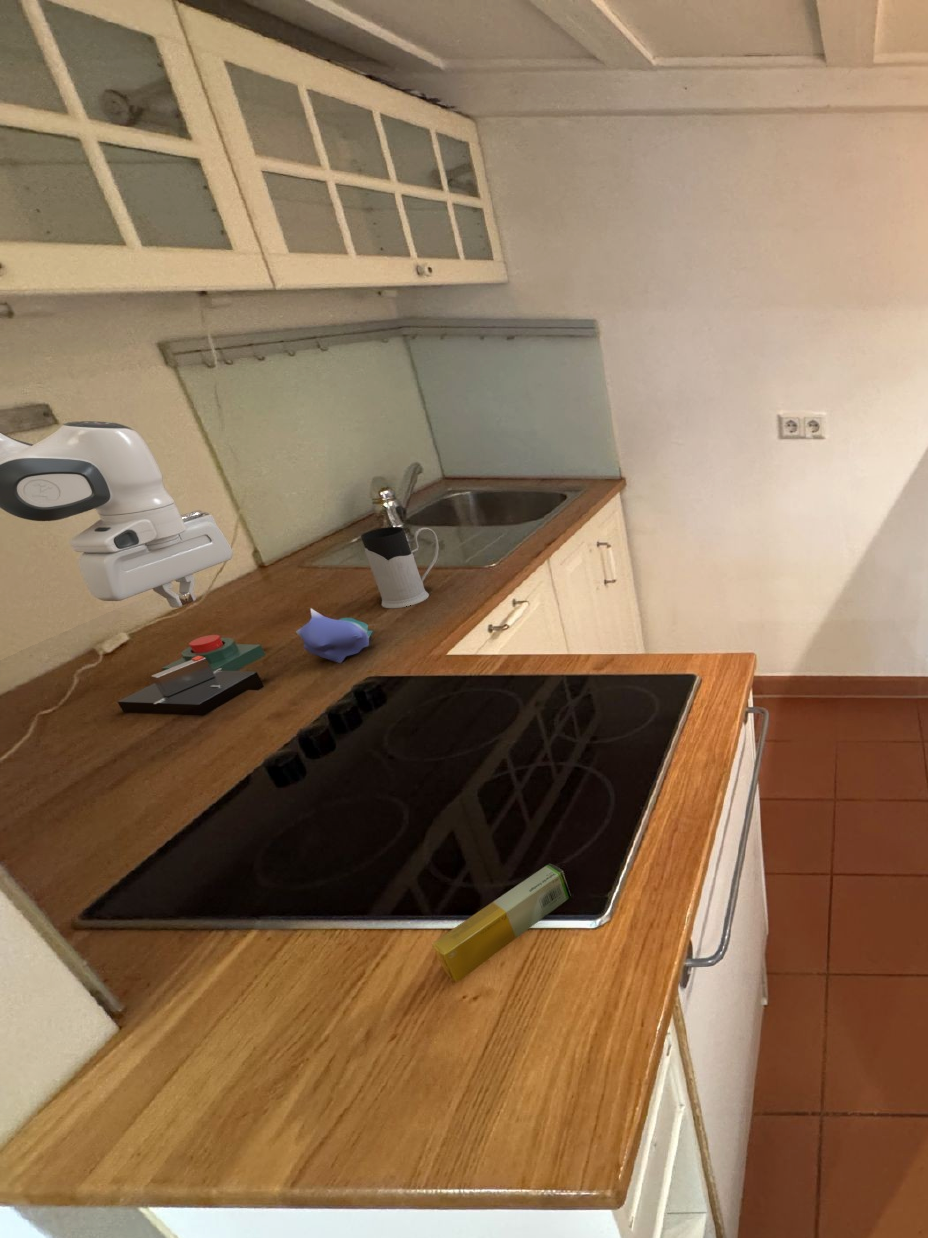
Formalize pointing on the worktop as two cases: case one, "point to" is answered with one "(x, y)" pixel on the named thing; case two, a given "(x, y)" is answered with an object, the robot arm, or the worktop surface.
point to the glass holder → (396, 566)
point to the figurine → (334, 636)
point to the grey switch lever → (183, 676)
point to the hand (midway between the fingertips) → (184, 604)
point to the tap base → (193, 695)
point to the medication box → (501, 922)
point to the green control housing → (224, 656)
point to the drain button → (206, 643)
